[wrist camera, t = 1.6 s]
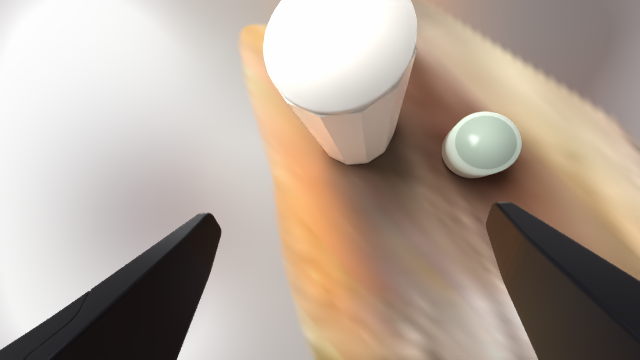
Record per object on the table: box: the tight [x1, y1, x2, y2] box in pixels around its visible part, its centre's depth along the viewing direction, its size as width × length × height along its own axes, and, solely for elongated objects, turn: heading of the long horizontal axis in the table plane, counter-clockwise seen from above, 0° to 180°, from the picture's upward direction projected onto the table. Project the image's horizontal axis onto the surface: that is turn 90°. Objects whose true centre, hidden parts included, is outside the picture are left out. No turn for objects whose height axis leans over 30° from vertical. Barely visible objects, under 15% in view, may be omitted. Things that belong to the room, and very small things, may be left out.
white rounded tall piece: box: [263, 0, 417, 165], centre depth 16 cm, size 7×7×12 cm
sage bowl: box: [441, 112, 522, 178], centre depth 19 cm, size 4×4×3 cm
